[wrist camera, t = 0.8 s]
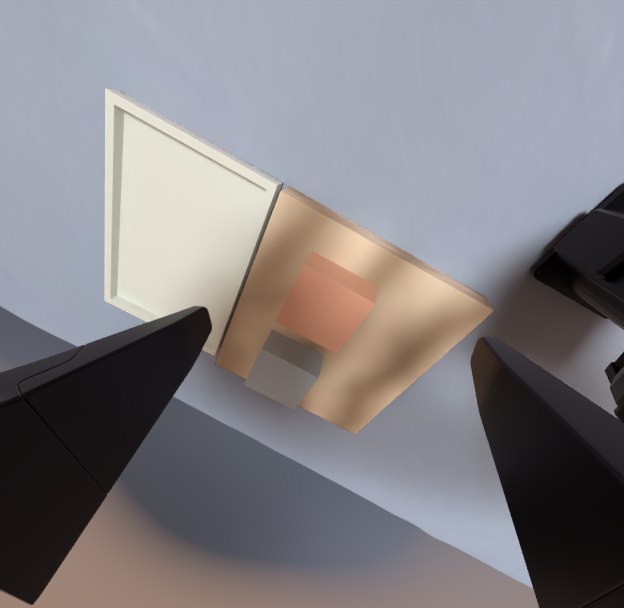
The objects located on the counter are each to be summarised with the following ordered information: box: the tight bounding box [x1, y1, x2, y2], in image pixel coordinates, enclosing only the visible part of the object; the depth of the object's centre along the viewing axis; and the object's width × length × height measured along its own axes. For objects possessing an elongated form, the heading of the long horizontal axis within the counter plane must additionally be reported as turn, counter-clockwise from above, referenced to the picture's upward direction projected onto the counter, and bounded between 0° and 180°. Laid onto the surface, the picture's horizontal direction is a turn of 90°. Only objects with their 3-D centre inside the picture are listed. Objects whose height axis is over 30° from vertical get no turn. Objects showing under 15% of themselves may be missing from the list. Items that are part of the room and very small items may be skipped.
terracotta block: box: [275, 251, 376, 354], centre depth 19 cm, size 5×5×2 cm
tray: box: [105, 88, 283, 356], centre depth 22 cm, size 12×18×1 cm, turn 154°
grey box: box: [243, 330, 324, 410], centre depth 23 cm, size 5×5×2 cm
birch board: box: [215, 186, 494, 434], centre depth 23 cm, size 16×18×2 cm
